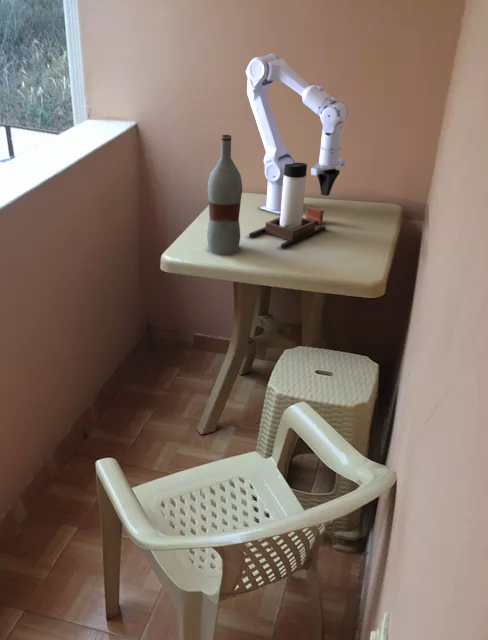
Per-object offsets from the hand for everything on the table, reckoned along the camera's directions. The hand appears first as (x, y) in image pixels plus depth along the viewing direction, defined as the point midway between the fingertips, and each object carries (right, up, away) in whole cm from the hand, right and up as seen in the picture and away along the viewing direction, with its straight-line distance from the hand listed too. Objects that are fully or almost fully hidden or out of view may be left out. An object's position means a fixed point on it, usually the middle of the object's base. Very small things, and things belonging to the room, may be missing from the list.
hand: (325, 194), depth 197 cm
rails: (-12, -13, -6) cm, 19 cm away
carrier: (-9, -11, -3) cm, 15 cm away
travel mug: (-11, -13, -5) cm, 18 cm away
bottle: (-32, -20, -15) cm, 40 cm away
